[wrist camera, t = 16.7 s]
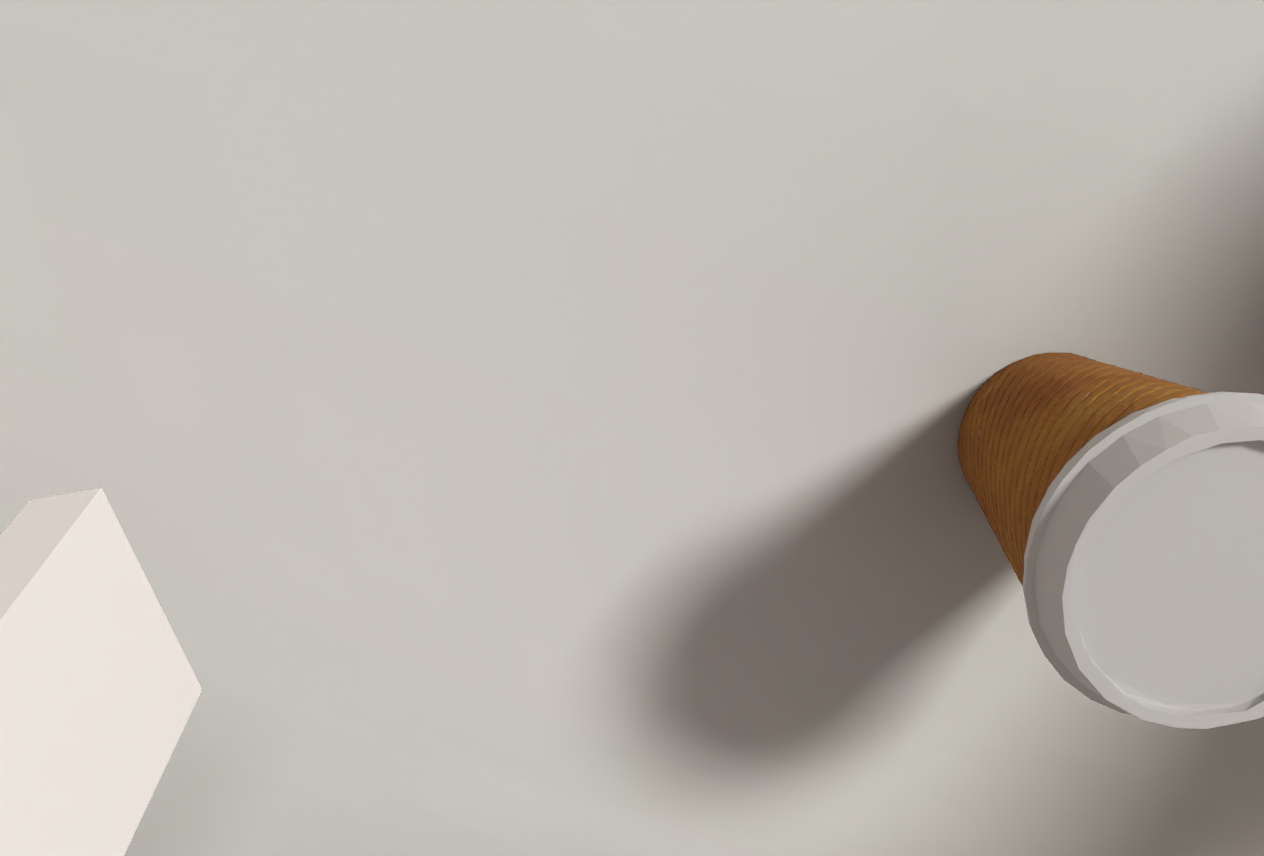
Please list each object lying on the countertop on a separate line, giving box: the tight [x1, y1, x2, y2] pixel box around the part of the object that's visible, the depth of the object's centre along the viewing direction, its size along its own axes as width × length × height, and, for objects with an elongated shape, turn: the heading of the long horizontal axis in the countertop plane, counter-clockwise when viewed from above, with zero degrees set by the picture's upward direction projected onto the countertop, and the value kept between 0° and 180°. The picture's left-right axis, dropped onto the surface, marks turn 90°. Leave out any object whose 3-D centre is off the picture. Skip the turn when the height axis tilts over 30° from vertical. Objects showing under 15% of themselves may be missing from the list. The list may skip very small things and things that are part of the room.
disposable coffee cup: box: [958, 353, 1264, 729], centre depth 34 cm, size 10×10×12 cm
